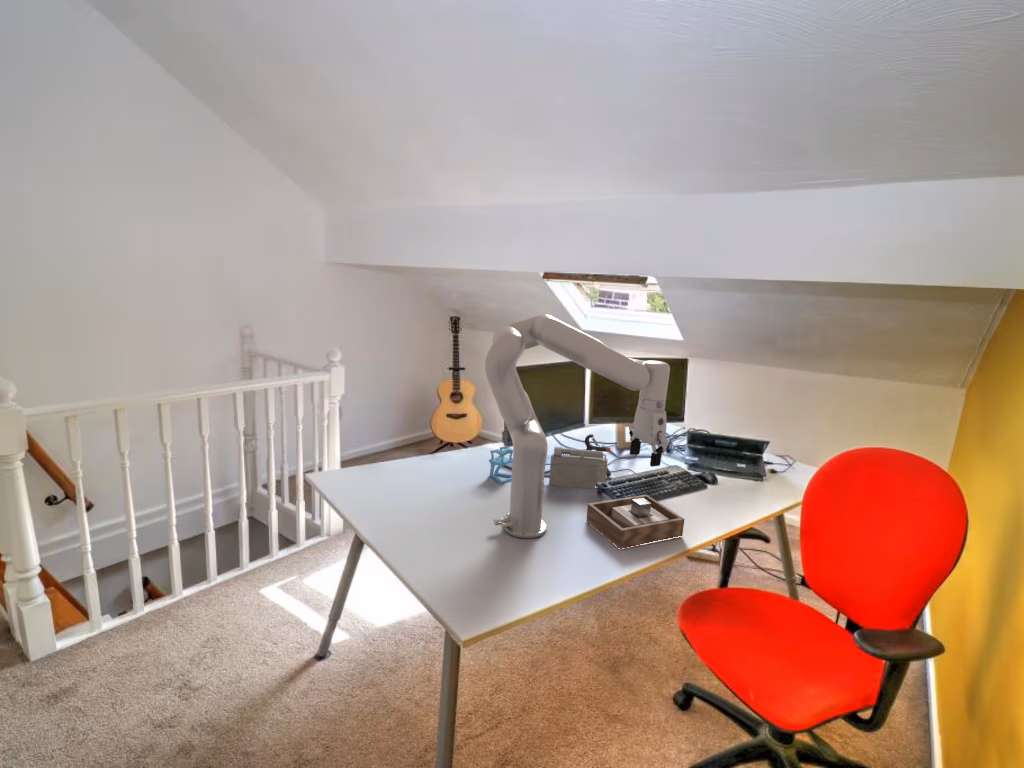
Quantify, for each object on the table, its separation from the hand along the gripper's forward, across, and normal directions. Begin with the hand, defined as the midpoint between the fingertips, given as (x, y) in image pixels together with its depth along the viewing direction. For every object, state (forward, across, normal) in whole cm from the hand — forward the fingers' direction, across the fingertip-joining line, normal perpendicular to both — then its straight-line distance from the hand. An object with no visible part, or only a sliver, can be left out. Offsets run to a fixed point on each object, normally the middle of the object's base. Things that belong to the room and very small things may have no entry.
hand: (644, 459), depth 162 cm
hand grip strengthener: (+22, +42, -12) cm, 49 cm away
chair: (+23, +49, +24) cm, 59 cm away
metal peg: (+21, 0, -1) cm, 21 cm away
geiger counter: (+23, +35, +3) cm, 42 cm away
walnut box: (+22, 0, +1) cm, 22 cm away
